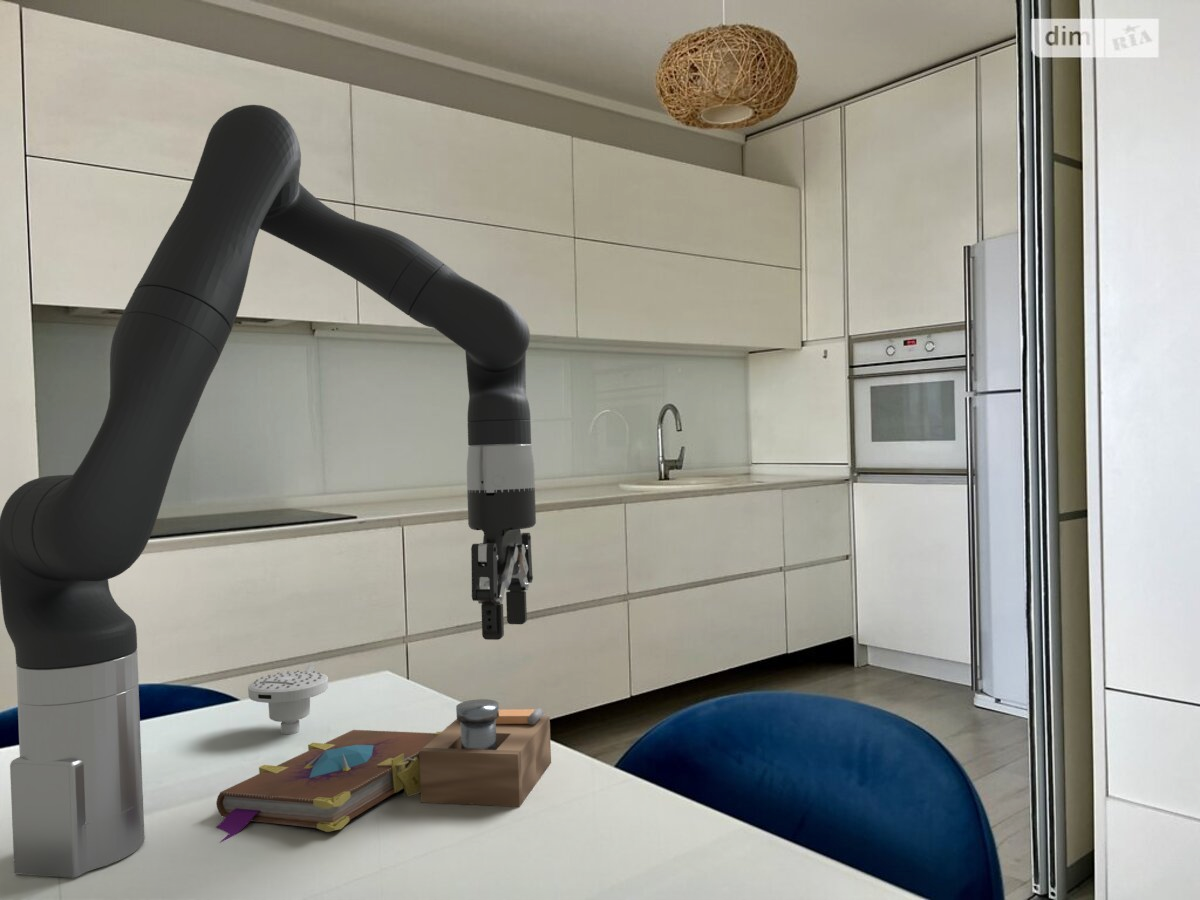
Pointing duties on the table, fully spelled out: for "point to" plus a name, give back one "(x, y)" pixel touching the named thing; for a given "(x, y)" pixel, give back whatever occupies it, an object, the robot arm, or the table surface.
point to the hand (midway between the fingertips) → (505, 631)
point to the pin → (478, 723)
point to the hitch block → (485, 766)
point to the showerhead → (288, 695)
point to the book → (327, 782)
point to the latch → (519, 716)
